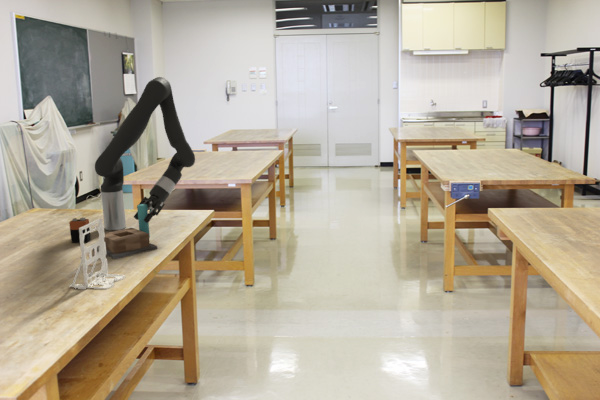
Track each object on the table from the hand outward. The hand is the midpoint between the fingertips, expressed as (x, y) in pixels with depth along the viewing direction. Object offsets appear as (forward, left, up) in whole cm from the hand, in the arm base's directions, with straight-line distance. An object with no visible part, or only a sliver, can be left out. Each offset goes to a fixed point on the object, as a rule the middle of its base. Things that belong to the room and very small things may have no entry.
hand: (140, 220), depth 244 cm
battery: (-15, -20, -8) cm, 26 cm away
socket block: (+10, -13, -8) cm, 18 cm away
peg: (0, +1, -8) cm, 8 cm away
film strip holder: (+39, -37, -8) cm, 54 cm away
